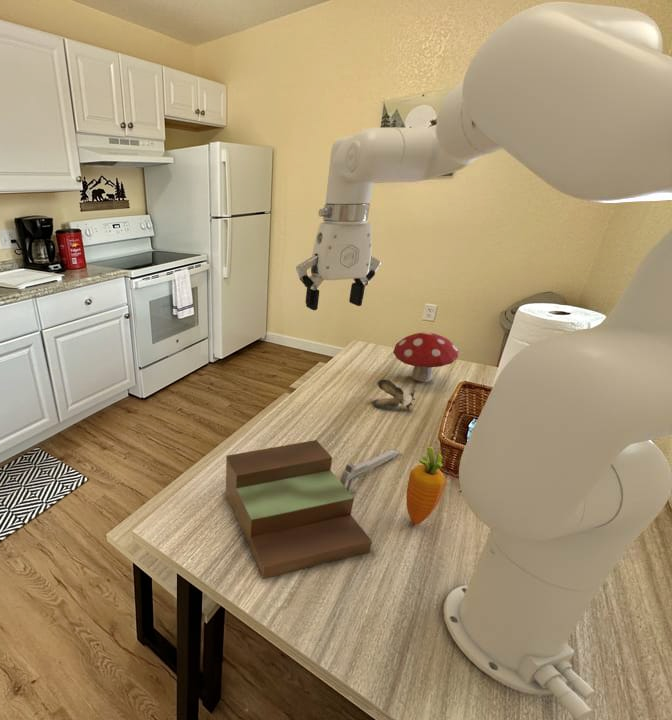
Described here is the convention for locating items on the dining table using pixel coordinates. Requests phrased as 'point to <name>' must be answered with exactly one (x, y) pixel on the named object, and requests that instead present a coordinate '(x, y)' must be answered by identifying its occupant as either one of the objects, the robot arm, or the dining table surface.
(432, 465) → the carrot
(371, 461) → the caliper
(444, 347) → the decorative mushroom
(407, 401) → the grey brown forked piece
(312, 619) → the dining table surface
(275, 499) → the brown stepped stand
